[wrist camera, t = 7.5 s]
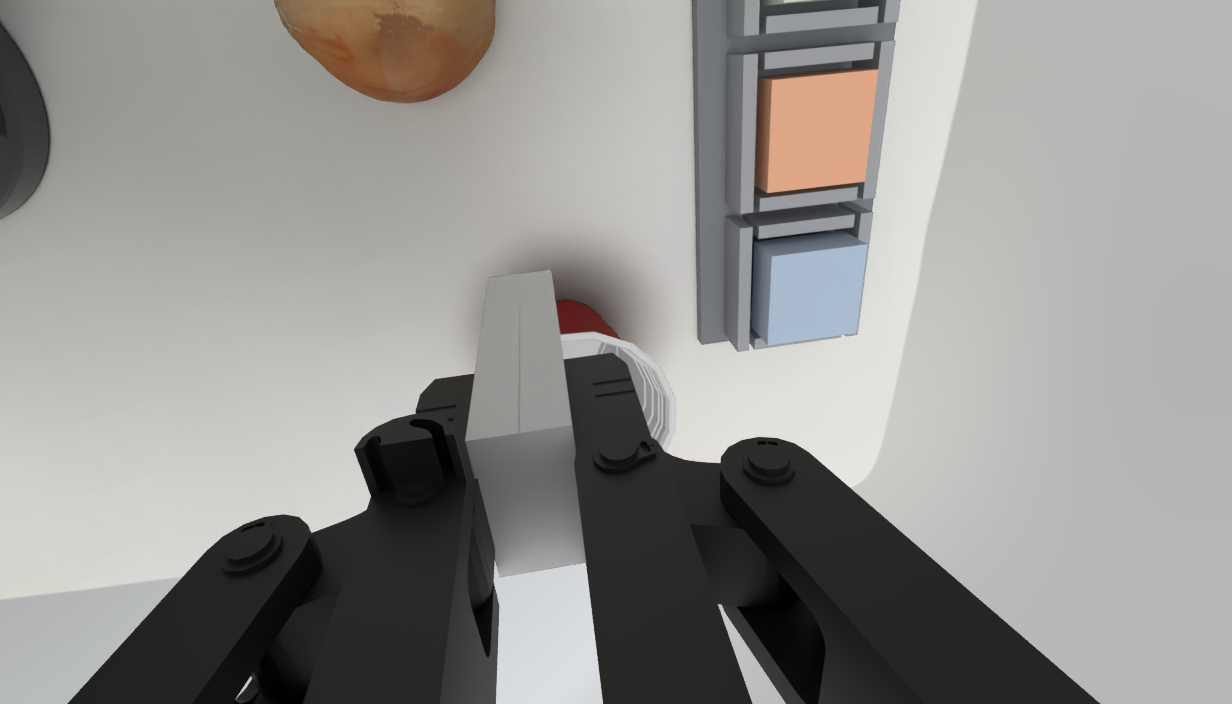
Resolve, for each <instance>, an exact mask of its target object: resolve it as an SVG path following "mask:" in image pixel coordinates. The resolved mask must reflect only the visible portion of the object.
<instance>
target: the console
mask: <svg viewBox="0 0 1232 704" xmlns="http://www.w3.org/2000/svg"><path fill="white" fill-rule="evenodd" d="M900 1H901V0H830V1H819V2H808V3H796V4H785V5H774V6H763V7H762V0H692V5H693V67H694V130H695V192H696V254H697V317H698V340H699V341H700V343H701V345H703V344H710V343H717V342H724V341H730V342H731V343H732V345H733V346H734V348H735V349H736V350H737V352H741V351H748V350H749V343H750V344H751V346H752V347H753V348H754V349H762V348H769V347H776V346H783V345H790V344H797V343H804V342H811V341H818V340H825V339H832V338H839V337H841V335H839V336H832V337H825V338H818V339H811V340H804V341H797V342H790V343H783V344H776V345H768V346H767V344H766V343H765V342H764V341H763V339H762V338H761V337H760V336H759V335H758V333H757V332H756V331H755V330H754V329H753V327H752V326H751V324H752V293H753V262H754V242H756V241H764V240H772V239H780V238H788V237H796V236H804V235H812V234H820V233H828V232H836V231H845V232H847V233H849V234H850V235H852V236H854V237H856V238H857V239H859V240H861V241H863V242H865V243H866V244H868V245H867V253H866V260H865V268H864V276H863V284H862V292H861V299H860V307H859V315H858V323H857V331H856V333H853V334H846V335H845V336H853V335H857V334H858V326H859V318H860V311H861V303H862V295H863V287H864V280H865V272H866V264H867V256H868V249H869V241H870V233H871V226H872V218H873V212H872V206H873V198H875V195H876V187H877V179H878V171H879V164H880V156H881V148H882V140H883V133H884V125H885V117H886V109H887V102H888V94H889V86H890V78H891V71H892V63H893V55H894V47H895V40H894V34H895V26H896V22H898V16H899V9H900ZM844 68H863V69H878V76H877V85H876V93H875V101H874V110H873V118H872V126H871V135H870V143H869V152H868V160H867V168H866V177H865V182H857V183H849V184H840V185H832V186H823V187H815V188H806V189H798V190H789V191H781V192H772V193H766V192H765V191H763V190H761V189H760V188H758V187H756V186H755V185H754V170H755V138H756V105H757V77H764V76H774V75H784V74H794V73H804V72H814V71H824V70H834V69H844Z"/></svg>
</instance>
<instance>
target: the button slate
mask: <svg viewBox="0 0 1232 704" xmlns="http://www.w3.org/2000/svg"><path fill="white" fill-rule="evenodd" d="M867 245H868V244H866V243H865V242H863V241H861V240H859V239H857V238H856V237H854V236H852V235H850V234H849V233H847V232H845V231H836V232H828V233H820V234H812V235H804V236H796V237H788V238H780V239H772V240H764V241H756V242H754V262H753V293H752V324H751V326H752V327H753V329H754V330H755V331H756V332H757V333H758V335H759V336H760V337H761V338H762V339H763V341H764V342H765V343H766V344H767V346H768V345H776V344H783V343H790V342H797V341H804V340H811V339H818V338H825V337H832V336H839V335H846V334H853V333H856V331H857V323H858V315H859V307H860V299H861V292H862V284H863V276H864V268H865V260H866V253H867Z"/></svg>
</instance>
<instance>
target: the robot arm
mask: <svg viewBox="0 0 1232 704" xmlns="http://www.w3.org/2000/svg"><path fill="white" fill-rule="evenodd" d="M47 155H48V127H47V120H46V114H45V110H44V106H43V102H42V99H41V96H40V93H39V90H38V88H37V85H36V83H35V81H34V78H33V76H32V74H31V72H30V70H29V68H28V66H27V64H26V62H25V61H24V59H23V57H22V55H21V54H20V52H19V51H18V49H17V47H16V46H15V44H14V43H13V41H12V40H11V38H10V37H9V36H8V34H7V33H6V32H5V30H4V29H3V28H2V26H1V25H0V219H2V218H4V217H5V216H7V215H9V214H11V213H12V212H13V211H15V210H16V209H18V208H19V207H20V206H21V205H22V204H23V203H24V202H25V201H26V200H27V199H28V198H29V197H30V196H31V194H32V193H33V191H34V190H35V189H36V187H37V185H38V183H39V181H40V179H41V177H42V174H43V172H44V168H45V165H46V160H47ZM354 451H355V454H356V456H357V459H358V462H359V464H360V467H361V470H362V473H363V475H364V478H365V481H366V484H367V486H368V489H369V492H370V494H371V499H370V502H369V505H368V508H367V510H365V511H364V512H362V513H361V514H358V515H356V516H354V517H352V518H350V519H347V520H345V521H342V522H340V523H337V524H335V525H332V526H329V527H327V528H324V529H321V530H319V531H316V532H313V533H311V531H310V529H309V526H308V525H307V524H306V523H305V522H304V521H303V520H302V519H301V518H299V517H295V516H290V515H285V514H284V515H276V516H268V517H263V518H261V519H258V520H255V521H252V522H249V523H247V524H244V525H242V526H240V527H239V528H237V529H235V530H233V531H232V532H230V533H228V534H227V535H225V536H223V537H222V538H221V539H220V540H219V541H217V542H216V543H215V544H214V545H213V546H212V547H211V548H209V549H208V550H207V551H206V552H205V553H204V554H203V555H202V556H201V558H200V559H199V560H198V561H197V562H196V563H195V564H194V565H193V566H192V567H191V569H190V570H189V571H188V572H187V573H186V574H185V575H184V576H183V577H182V578H181V580H180V581H179V582H178V583H177V584H176V585H175V586H174V587H173V588H172V590H171V591H170V592H169V593H168V594H167V595H166V596H165V597H164V598H163V599H162V600H161V602H160V603H159V604H158V605H157V606H156V607H155V608H154V609H153V610H152V612H151V613H150V614H149V615H148V616H147V617H146V618H145V619H144V620H143V621H142V622H141V624H140V625H139V626H138V627H137V628H136V629H135V630H134V631H133V633H132V634H131V635H130V636H129V637H128V638H127V639H126V640H125V641H124V642H123V643H122V645H120V647H119V648H118V649H117V650H116V651H115V652H114V653H113V654H112V655H111V656H110V658H109V659H108V660H107V661H106V662H105V663H104V664H103V665H102V666H101V667H100V669H99V670H98V671H97V672H96V673H95V674H94V675H93V676H92V677H91V679H90V680H89V681H88V682H87V683H86V684H85V685H84V686H83V687H82V688H81V689H80V691H79V692H78V693H77V694H76V695H75V696H74V697H73V698H72V699H71V700H70V702H69V703H68V704H496V682H497V680H496V679H497V654H498V626H499V603H498V599H497V594H496V590H495V586H494V582H493V580H494V561H495V562H496V566H497V569H498V573H499V577H505V576H511V575H516V574H522V573H528V572H534V571H540V570H546V569H552V568H557V567H562V566H569V565H575V564H581V563H586V566H587V574H588V583H589V590H590V599H591V607H592V615H593V623H594V631H595V640H596V647H597V656H598V664H599V673H600V681H601V689H602V697H603V704H752V701H751V698H750V696H749V693H748V690H747V687H746V684H745V681H744V678H743V676H742V673H741V670H740V667H739V664H738V661H737V658H736V656H735V653H734V650H733V647H732V644H731V641H730V638H729V636H728V632H727V630H726V627H725V624H724V621H723V618H722V615H721V612H720V610H719V607H718V604H722V606H723V608H724V611H725V613H726V615H727V616H728V617H729V619H730V621H731V622H732V624H733V625H734V627H735V628H736V629H737V631H738V633H739V634H740V635H741V637H742V638H743V640H744V641H745V643H746V644H747V646H748V647H749V649H750V650H751V652H752V653H753V655H754V656H755V658H756V659H757V661H758V662H759V664H760V665H761V667H762V668H763V670H764V671H765V673H766V674H767V676H768V677H769V679H770V680H771V682H772V683H773V685H774V686H775V688H776V689H777V691H778V692H779V694H780V695H781V697H782V698H783V700H784V701H785V703H786V704H1100V703H1099V702H1098V701H1096V700H1095V699H1094V698H1093V697H1092V696H1091V695H1089V694H1088V693H1087V692H1086V691H1085V690H1084V689H1082V688H1081V687H1080V686H1079V685H1078V684H1077V683H1075V682H1074V681H1073V680H1072V679H1071V678H1070V677H1068V676H1067V675H1066V674H1065V673H1064V672H1063V671H1062V670H1060V669H1059V668H1058V667H1057V666H1056V665H1055V664H1054V663H1052V662H1051V661H1050V660H1049V659H1048V658H1046V657H1045V656H1044V655H1043V654H1042V653H1041V652H1040V651H1038V650H1037V649H1036V648H1035V647H1034V646H1033V645H1032V644H1030V643H1029V642H1028V641H1027V640H1025V639H1024V638H1023V637H1022V636H1021V635H1020V634H1019V633H1018V632H1016V631H1015V630H1014V629H1013V628H1012V627H1011V626H1009V625H1008V624H1007V623H1006V622H1005V621H1004V620H1003V619H1001V618H1000V617H999V616H998V615H997V614H996V613H994V612H993V611H992V610H991V609H990V608H988V607H987V606H986V605H985V604H984V603H983V602H981V601H980V600H979V599H978V598H977V597H976V596H975V595H973V594H972V593H971V592H970V591H969V590H968V589H967V588H965V587H964V586H963V585H962V584H961V583H960V582H958V581H957V580H956V579H955V578H954V577H953V576H951V575H950V574H949V573H948V572H947V571H946V570H945V569H943V568H942V567H941V566H940V565H939V564H938V563H936V562H935V561H934V560H933V559H932V558H931V557H929V556H928V555H927V554H926V553H925V552H924V551H922V550H921V549H920V548H919V547H918V546H917V545H916V544H914V543H913V542H912V541H911V540H910V539H909V538H907V537H906V536H905V535H904V534H903V533H902V532H900V531H899V530H898V529H897V528H896V527H895V526H893V525H892V524H891V523H890V522H889V521H888V520H887V519H885V518H884V517H883V516H882V515H881V514H880V513H878V512H877V511H876V510H875V509H874V508H873V507H871V506H870V505H869V504H868V503H867V502H866V501H865V500H863V499H862V498H861V497H860V496H859V495H857V494H856V493H855V492H854V491H853V490H852V489H851V488H849V487H848V486H847V485H846V484H845V483H844V482H843V481H841V480H840V479H839V478H838V477H837V476H836V475H834V474H833V473H832V472H831V471H830V470H829V469H827V468H826V467H825V466H824V465H823V464H822V463H821V462H819V461H818V460H817V459H816V458H815V457H814V456H812V455H811V454H810V453H809V452H807V451H806V450H804V449H803V448H801V447H799V446H798V445H796V444H794V443H791V442H788V441H785V440H781V439H778V438H766V437H756V438H751V439H746V440H741V441H739V442H737V443H736V444H734V445H732V446H730V447H728V449H727V450H726V451H725V453H724V454H723V455H722V456H721V463H707V462H696V461H689V460H683V459H680V458H677V457H674V456H672V455H670V454H668V453H666V452H665V451H664V450H663V448H662V447H661V445H660V444H659V443H658V441H657V440H655V439H654V438H652V437H651V434H650V431H649V428H648V425H647V422H646V419H645V416H644V413H643V410H642V407H641V404H640V401H639V398H638V395H637V392H636V389H635V386H634V383H633V380H632V377H631V374H630V371H629V368H628V365H627V363H626V362H624V361H623V360H622V359H620V358H619V357H618V356H617V355H615V354H614V353H606V354H598V355H591V356H584V357H577V358H570V359H564V357H563V350H562V343H561V336H560V329H559V322H558V315H557V308H556V301H555V293H554V286H553V279H552V272H551V270H544V271H536V272H528V273H520V274H512V275H505V276H497V277H489V278H488V284H487V291H486V298H485V305H484V312H483V319H482V326H481V333H480V340H479V347H478V354H477V361H476V369H475V374H469V375H462V376H455V377H448V378H440V379H435V380H434V381H433V382H432V383H431V384H430V385H429V386H428V387H427V388H426V389H425V390H424V391H423V392H422V393H421V395H420V398H419V401H418V405H417V408H416V414H412V415H408V416H404V417H400V418H396V419H393V420H391V421H388V422H386V423H384V424H382V425H380V426H377V427H376V428H374V429H373V430H372V431H370V432H369V433H368V434H366V435H365V436H364V437H362V439H361V440H360V441H359V443H358V444H357V446H356V447H355V448H354ZM250 676H251V677H252V680H251V682H250V683H249V685H248V686H247V688H246V689H245V690H244V691H243V692H242V693H241V694H240V695H239V697H238V698H237V699H236V697H237V696H238V694H239V693H240V691H241V689H242V688H243V687H244V685H245V683H246V682H247V681H248V679H249V677H250Z"/></svg>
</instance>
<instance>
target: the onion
mask: <svg viewBox="0 0 1232 704" xmlns="http://www.w3.org/2000/svg"><path fill="white" fill-rule="evenodd" d="M274 2H275V6H276V8H277V10H278V13H279V15H280V18H281V21H282V23H283V25H284V26H285V27H286V29H287V30H288V32H289V33H290V34H291V36H292V37H293V38H294V39H295V40H296V41H297V42H298V43H299V44H300V46H301V47H302V48H303V49H304V50H305V51H306V52H308V53H309V54H310V55H311V56H313V57H314V58H315V59H316V60H317V61H318V62H319V63H320V64H321V65H322V66H324V68H325V69H326V70H327V71H328V72H330V73H331V74H332V75H333V76H335V77H336V78H337V79H339V80H340V81H341V82H343V83H344V84H346V85H347V86H349V87H351V88H353V89H355V90H356V91H358V92H360V93H362V94H365V95H367V96H369V97H372V98H375V99H377V100H380V101H388V102H397V103H413V102H420V101H425V100H429V99H432V98H435V97H437V96H439V95H441V94H443V93H445V92H447V91H449V90H451V89H453V88H454V87H455V86H457V85H458V84H459V83H460V82H462V81H463V80H464V79H465V78H466V77H467V76H468V75H469V74H470V73H471V72H472V70H473V69H474V68H475V67H476V65H477V64H478V63H479V61H480V60H481V59H482V57H483V56H484V54H485V53H486V51H487V49H488V48H489V46H490V44H491V41H492V38H493V34H494V28H495V0H274Z"/></svg>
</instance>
